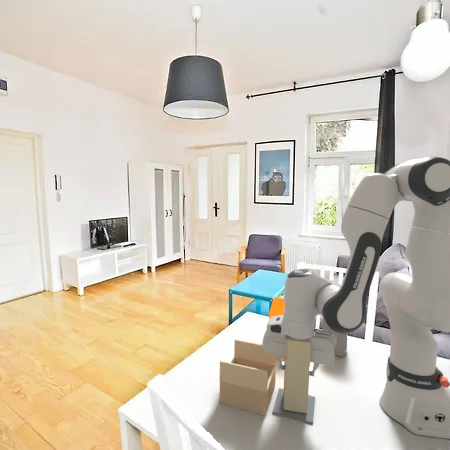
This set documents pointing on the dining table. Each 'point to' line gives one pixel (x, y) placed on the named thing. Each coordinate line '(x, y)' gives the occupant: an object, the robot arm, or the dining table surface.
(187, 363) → the dining table surface
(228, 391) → the carton
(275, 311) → the orange juice
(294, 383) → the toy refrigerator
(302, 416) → the mat
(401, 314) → the robot arm
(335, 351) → the skincare box
